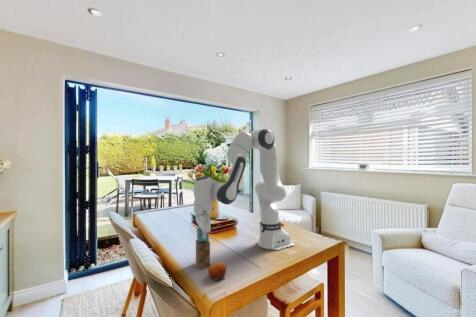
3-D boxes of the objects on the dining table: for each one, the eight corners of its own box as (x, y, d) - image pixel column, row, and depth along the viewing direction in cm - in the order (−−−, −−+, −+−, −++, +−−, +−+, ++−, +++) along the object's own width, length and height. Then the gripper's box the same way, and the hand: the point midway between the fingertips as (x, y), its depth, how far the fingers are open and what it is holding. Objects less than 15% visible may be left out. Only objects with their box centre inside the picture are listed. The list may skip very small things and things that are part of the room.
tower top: (207, 250, 119) (207, 238, 119) (209, 254, 114) (209, 242, 114) (195, 251, 117) (195, 239, 117) (197, 256, 112) (197, 244, 111)
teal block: (206, 237, 118) (206, 227, 118) (208, 240, 114) (208, 230, 114) (196, 238, 117) (196, 228, 117) (198, 241, 112) (198, 231, 112)
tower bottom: (207, 261, 119) (207, 250, 119) (209, 266, 114) (209, 254, 114) (195, 263, 117) (195, 251, 117) (197, 268, 112) (197, 256, 112)
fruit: (216, 282, 96) (211, 263, 100) (208, 285, 102) (204, 266, 105) (232, 277, 101) (227, 258, 104) (224, 279, 107) (219, 261, 110)
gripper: (213, 213, 106) (213, 242, 107) (204, 204, 126) (204, 229, 126) (200, 214, 104) (200, 244, 104) (193, 205, 124) (193, 230, 124)
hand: (202, 236), depth 115 cm, fingers closed on teal block, 5 cm apart
